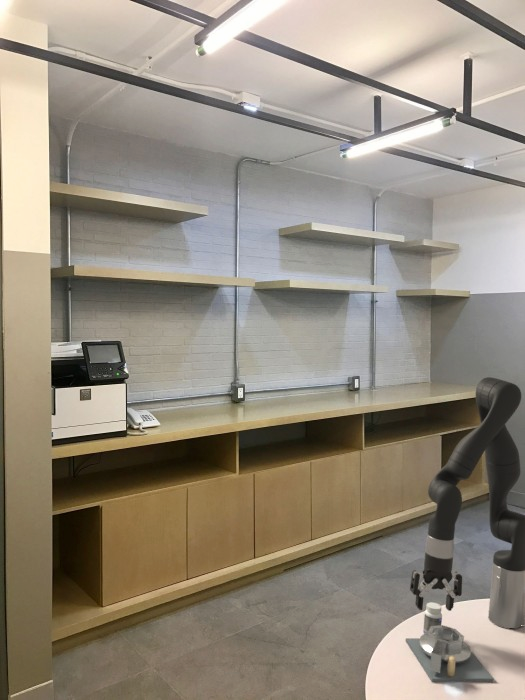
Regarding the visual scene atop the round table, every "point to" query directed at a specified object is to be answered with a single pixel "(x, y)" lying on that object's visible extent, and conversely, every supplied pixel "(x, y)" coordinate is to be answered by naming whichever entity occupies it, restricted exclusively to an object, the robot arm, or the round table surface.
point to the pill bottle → (432, 616)
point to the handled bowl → (444, 646)
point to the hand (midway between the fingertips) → (434, 609)
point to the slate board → (460, 668)
